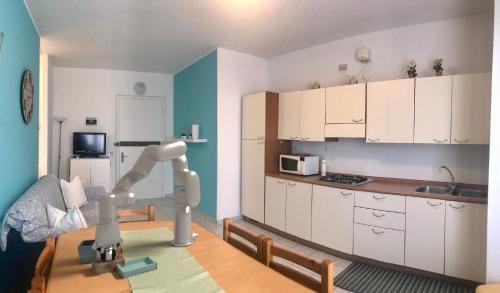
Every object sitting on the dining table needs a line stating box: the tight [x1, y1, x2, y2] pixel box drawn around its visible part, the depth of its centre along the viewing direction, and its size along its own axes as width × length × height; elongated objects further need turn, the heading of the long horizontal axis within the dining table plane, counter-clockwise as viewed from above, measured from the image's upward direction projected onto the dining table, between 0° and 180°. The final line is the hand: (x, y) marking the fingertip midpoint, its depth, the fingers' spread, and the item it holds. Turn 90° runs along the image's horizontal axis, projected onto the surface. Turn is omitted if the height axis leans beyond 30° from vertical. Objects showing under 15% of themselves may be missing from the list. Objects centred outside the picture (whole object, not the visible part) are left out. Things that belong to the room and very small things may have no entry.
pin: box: [104, 245, 114, 263], centre depth 133 cm, size 5×5×10 cm
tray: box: [116, 255, 158, 279], centre depth 133 cm, size 15×11×3 cm
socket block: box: [91, 253, 126, 277], centre depth 133 cm, size 12×9×4 cm
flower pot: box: [77, 238, 100, 264], centre depth 141 cm, size 9×9×9 cm
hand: (108, 258), depth 133 cm, fingers closed on pin, 3 cm apart
